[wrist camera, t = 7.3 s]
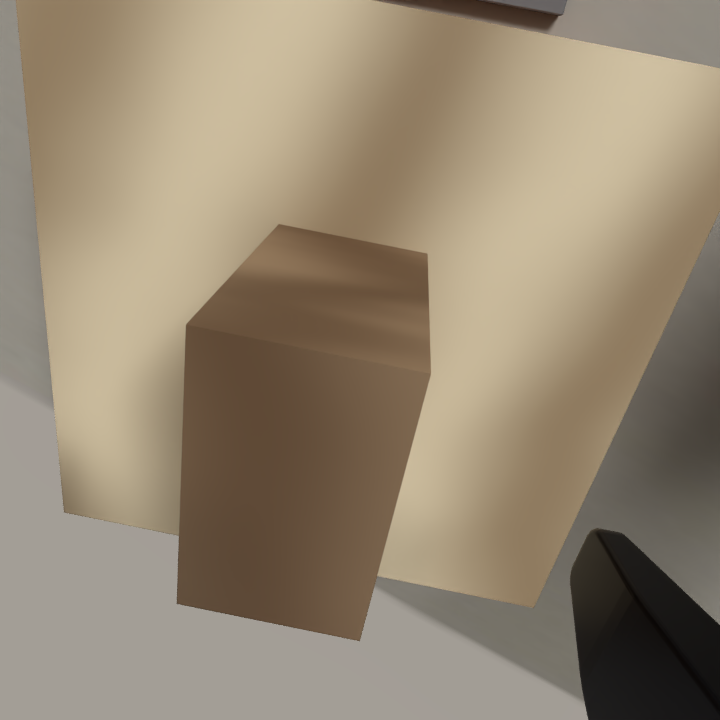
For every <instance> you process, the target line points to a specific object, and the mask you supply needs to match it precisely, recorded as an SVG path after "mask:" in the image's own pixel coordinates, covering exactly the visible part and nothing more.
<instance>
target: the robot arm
mask: <svg viewBox="0 0 720 720" xmlns="http://www.w3.org/2000/svg"><path fill="white" fill-rule="evenodd" d="M570 586H571V595H572V604H573V614H574V623H575V632H576V641H577V651H578V660H579V669H580V677H581V684H582V690H583V696H584V701H585V706H586V711H587V715H588V720H720V625H719V624H718V623H717V622H716V621H715V620H714V619H713V618H712V617H711V616H710V615H708V614H707V613H706V612H705V611H704V610H703V609H702V608H701V607H700V606H699V605H698V604H697V603H696V602H695V601H694V600H693V599H692V598H691V597H689V596H688V595H687V594H686V593H685V592H684V591H683V590H682V589H681V588H680V587H679V586H678V585H677V584H676V583H675V582H674V581H673V580H672V579H670V578H669V577H668V576H667V575H666V574H665V573H664V572H663V571H662V570H661V569H660V568H659V567H658V566H657V565H656V564H655V563H654V562H653V561H651V560H650V559H649V558H648V557H647V556H646V555H645V554H644V553H643V552H642V551H641V550H640V549H639V548H638V547H637V546H636V545H635V544H634V543H632V542H631V541H630V540H629V539H628V538H627V537H626V536H625V535H624V534H622V533H619V532H615V531H610V530H604V529H599V528H596V529H593V530H591V531H590V532H589V534H588V535H587V537H586V539H585V542H584V544H583V546H582V548H581V550H580V552H579V554H578V556H577V558H576V560H575V562H574V565H573V567H572V570H571V576H570Z"/></svg>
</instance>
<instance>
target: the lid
mask: <svg viewBox="0 0 720 720" xmlns="http://www.w3.org/2000/svg"><path fill="white" fill-rule="evenodd" d="M16 8H17V18H18V29H19V39H20V50H21V61H22V71H23V82H24V92H25V103H26V114H27V124H28V135H29V145H30V156H31V167H32V177H33V188H34V198H35V209H36V219H37V230H38V241H39V251H40V262H41V272H42V283H43V294H44V304H45V315H46V325H47V336H48V347H49V357H50V368H51V378H52V389H53V400H54V410H55V420H56V431H57V442H58V452H59V463H60V474H61V484H62V495H63V505H64V512H65V513H69V514H74V515H80V516H85V517H89V518H94V519H100V520H104V521H109V522H114V523H119V524H124V525H129V526H134V527H139V528H143V529H149V530H153V531H158V532H163V533H168V534H174V535H178V536H179V552H178V584H177V604H181V605H185V606H191V607H195V608H200V609H205V610H210V611H215V612H220V613H225V614H230V615H234V616H239V617H244V618H250V619H254V620H259V621H264V622H269V623H274V624H279V625H283V626H289V627H293V628H298V629H303V630H309V631H313V632H318V633H323V634H328V635H332V636H338V637H342V638H347V639H352V640H357V641H360V638H361V634H362V631H363V627H364V623H365V619H366V616H367V612H368V608H369V604H370V600H371V597H372V593H373V589H374V586H375V582H376V578H377V576H380V577H385V578H389V579H394V580H399V581H404V582H409V583H414V584H419V585H424V586H429V587H434V588H439V589H444V590H449V591H453V592H458V593H463V594H468V595H473V596H478V597H483V598H488V599H493V600H498V601H503V602H508V603H513V604H517V605H522V606H527V607H532V608H534V606H535V604H536V602H537V600H538V598H539V595H540V593H541V591H542V589H543V587H544V585H545V583H546V580H547V578H548V576H549V574H550V572H551V570H552V568H553V566H554V563H555V561H556V559H557V557H558V555H559V553H560V551H561V548H562V546H563V544H564V542H565V540H566V538H567V536H568V534H569V531H570V529H571V527H572V525H573V523H574V521H575V519H576V516H577V514H578V512H579V510H580V508H581V506H582V504H583V502H584V499H585V497H586V495H587V493H588V491H589V489H590V487H591V485H592V482H593V480H594V478H595V476H596V474H597V472H598V470H599V467H600V465H601V463H602V461H603V459H604V457H605V455H606V453H607V450H608V448H609V446H610V444H611V442H612V440H613V438H614V435H615V433H616V431H617V429H618V427H619V425H620V423H621V421H622V418H623V416H624V414H625V412H626V410H627V408H628V406H629V404H630V401H631V399H632V397H633V395H634V393H635V391H636V389H637V386H638V384H639V382H640V380H641V378H642V376H643V374H644V372H645V369H646V367H647V365H648V363H649V361H650V359H651V357H652V354H653V352H654V350H655V348H656V346H657V344H658V342H659V340H660V337H661V335H662V333H663V331H664V329H665V327H666V325H667V323H668V320H669V318H670V316H671V314H672V312H673V310H674V308H675V305H676V303H677V301H678V299H679V297H680V295H681V293H682V291H683V288H684V286H685V284H686V282H687V280H688V278H689V276H690V273H691V271H692V269H693V267H694V265H695V263H696V261H697V259H698V256H699V254H700V252H701V250H702V248H703V246H704V244H705V242H706V239H707V237H708V235H709V233H710V231H711V229H712V227H713V224H714V222H715V220H716V218H717V216H718V214H719V212H720V68H716V67H711V66H705V65H700V64H695V63H690V62H685V61H680V60H675V59H670V58H665V57H660V56H654V55H649V54H644V53H639V52H634V51H629V50H624V49H619V48H614V47H609V46H604V45H598V44H593V43H588V42H583V41H578V40H573V39H568V38H563V37H558V36H553V35H547V34H542V33H537V32H532V31H527V30H522V29H517V28H512V27H507V26H502V25H496V24H491V23H486V22H481V21H476V20H471V19H466V18H461V17H456V16H451V15H445V14H440V13H435V12H430V11H425V10H420V9H415V8H410V7H405V6H400V5H395V4H389V3H384V2H379V1H374V0H16Z"/></svg>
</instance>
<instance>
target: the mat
mask: <svg viewBox="0 0 720 720" xmlns="http://www.w3.org/2000/svg"><path fill="white" fill-rule="evenodd" d="M478 1H484V2H489V3H494V4H500V5H505V6H510V7H516V8H521V9H526V10H532V11H537V12H542V13H548V14H553V15H558V16H560V15H563V13H564V9H565V6H566V2H567V0H478Z"/></svg>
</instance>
